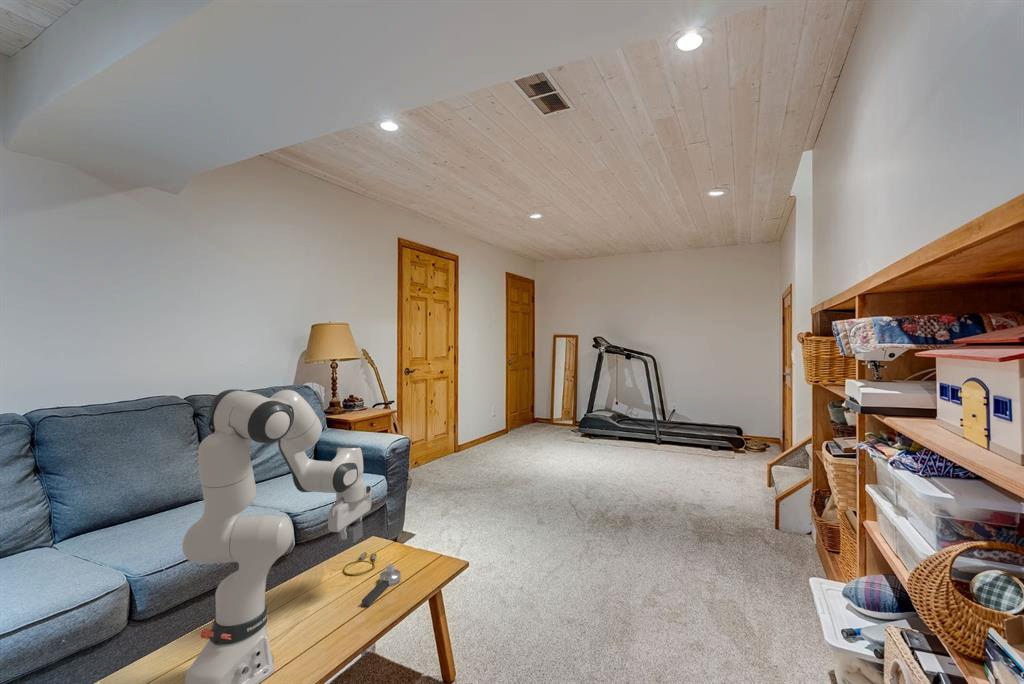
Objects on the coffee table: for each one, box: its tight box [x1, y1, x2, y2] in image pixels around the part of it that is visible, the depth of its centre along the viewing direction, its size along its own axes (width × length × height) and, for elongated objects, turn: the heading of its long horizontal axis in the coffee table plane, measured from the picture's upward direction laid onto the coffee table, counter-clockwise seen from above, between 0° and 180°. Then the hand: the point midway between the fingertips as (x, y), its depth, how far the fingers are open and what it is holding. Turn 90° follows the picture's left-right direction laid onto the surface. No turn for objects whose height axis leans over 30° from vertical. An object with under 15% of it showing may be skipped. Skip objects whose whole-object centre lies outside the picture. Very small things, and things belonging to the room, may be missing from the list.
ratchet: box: [361, 563, 402, 608], centre depth 156 cm, size 20×7×6 cm, turn 166°
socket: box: [337, 521, 364, 544], centre depth 155 cm, size 6×6×5 cm
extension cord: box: [342, 551, 377, 577], centre depth 174 cm, size 12×16×2 cm
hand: (351, 534), depth 155 cm, fingers closed on socket, 6 cm apart
